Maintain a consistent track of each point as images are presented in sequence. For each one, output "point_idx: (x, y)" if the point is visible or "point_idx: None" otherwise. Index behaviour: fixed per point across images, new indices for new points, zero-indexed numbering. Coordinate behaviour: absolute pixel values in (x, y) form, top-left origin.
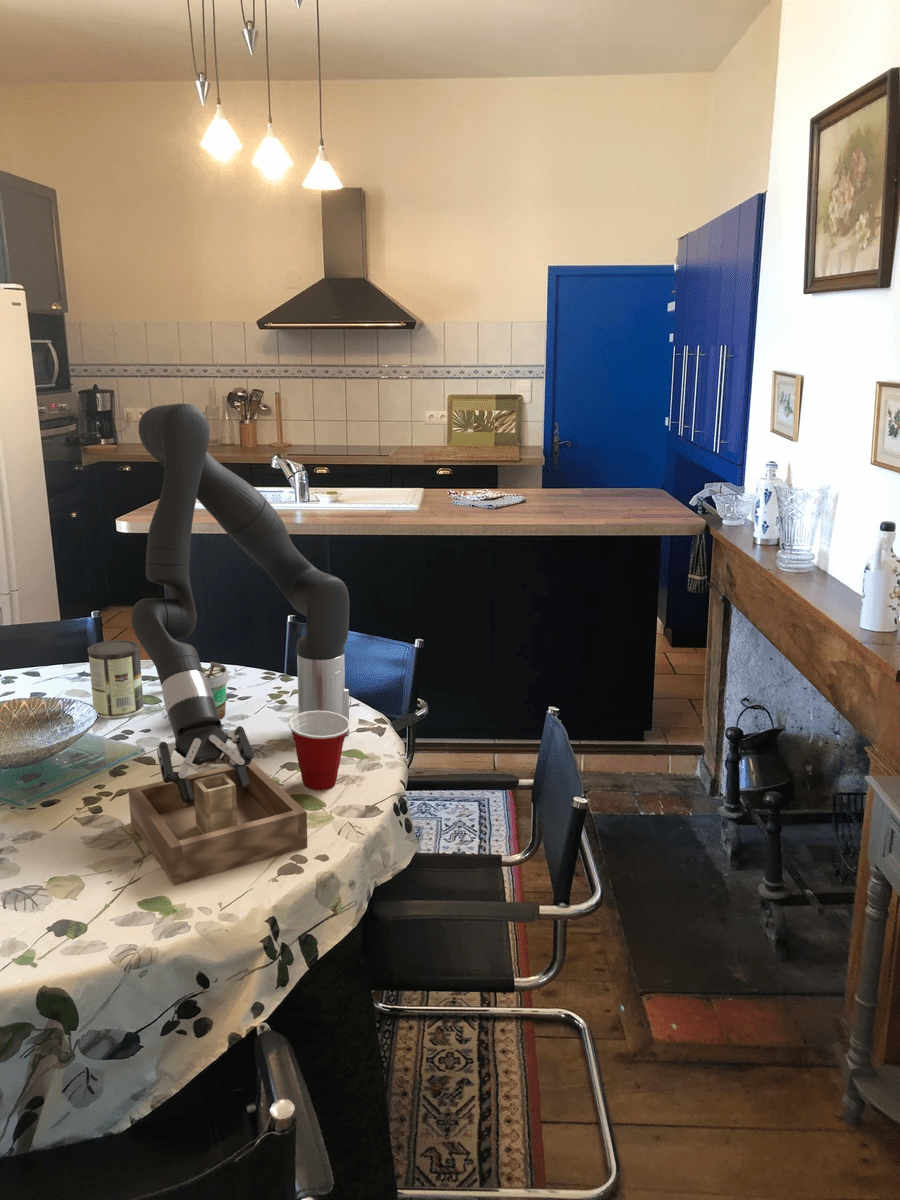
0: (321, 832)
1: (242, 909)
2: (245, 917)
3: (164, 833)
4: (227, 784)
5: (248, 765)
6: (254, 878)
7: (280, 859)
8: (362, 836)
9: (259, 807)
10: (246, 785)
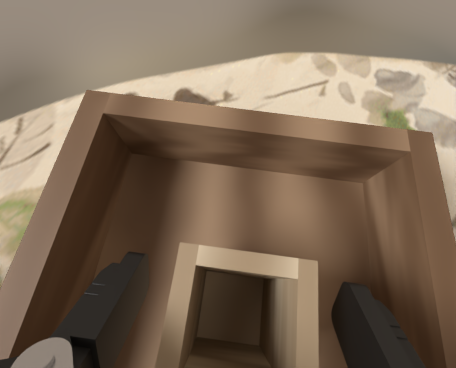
0: None
1: (301, 67)
2: (304, 53)
3: (439, 206)
4: (191, 297)
5: None
6: None
7: None
8: (28, 115)
9: None
10: (130, 252)
